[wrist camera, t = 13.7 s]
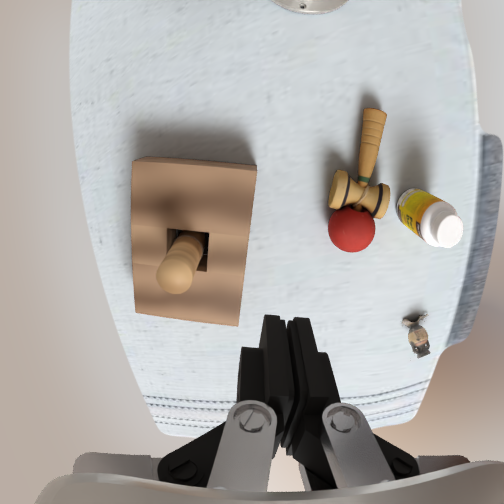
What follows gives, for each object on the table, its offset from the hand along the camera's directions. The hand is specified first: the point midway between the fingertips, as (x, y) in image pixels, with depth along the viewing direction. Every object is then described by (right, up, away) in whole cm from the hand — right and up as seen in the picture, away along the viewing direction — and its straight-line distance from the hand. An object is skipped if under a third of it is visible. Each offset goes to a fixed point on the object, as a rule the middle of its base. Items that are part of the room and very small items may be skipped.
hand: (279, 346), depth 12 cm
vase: (+26, -9, +36) cm, 45 cm away
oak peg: (-9, +6, +29) cm, 31 cm away
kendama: (+12, +13, +26) cm, 32 cm away
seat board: (-9, +6, +29) cm, 31 cm away
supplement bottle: (+21, +10, +28) cm, 36 cm away
